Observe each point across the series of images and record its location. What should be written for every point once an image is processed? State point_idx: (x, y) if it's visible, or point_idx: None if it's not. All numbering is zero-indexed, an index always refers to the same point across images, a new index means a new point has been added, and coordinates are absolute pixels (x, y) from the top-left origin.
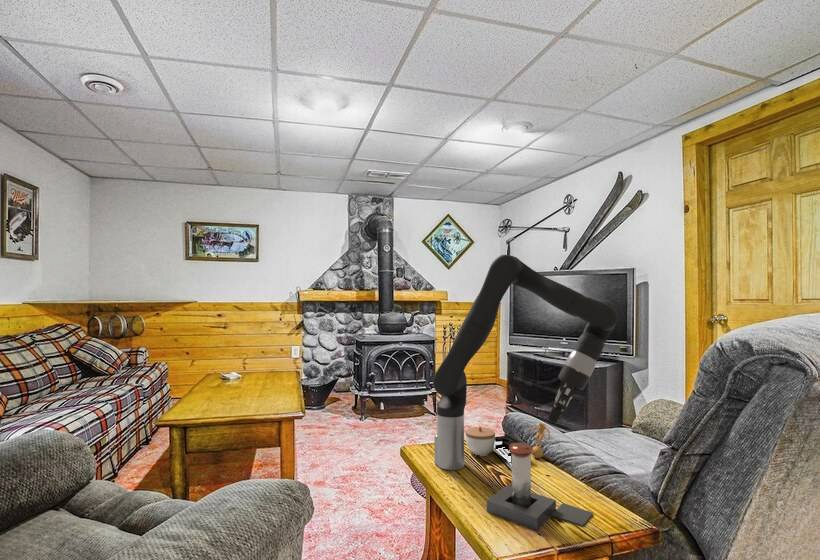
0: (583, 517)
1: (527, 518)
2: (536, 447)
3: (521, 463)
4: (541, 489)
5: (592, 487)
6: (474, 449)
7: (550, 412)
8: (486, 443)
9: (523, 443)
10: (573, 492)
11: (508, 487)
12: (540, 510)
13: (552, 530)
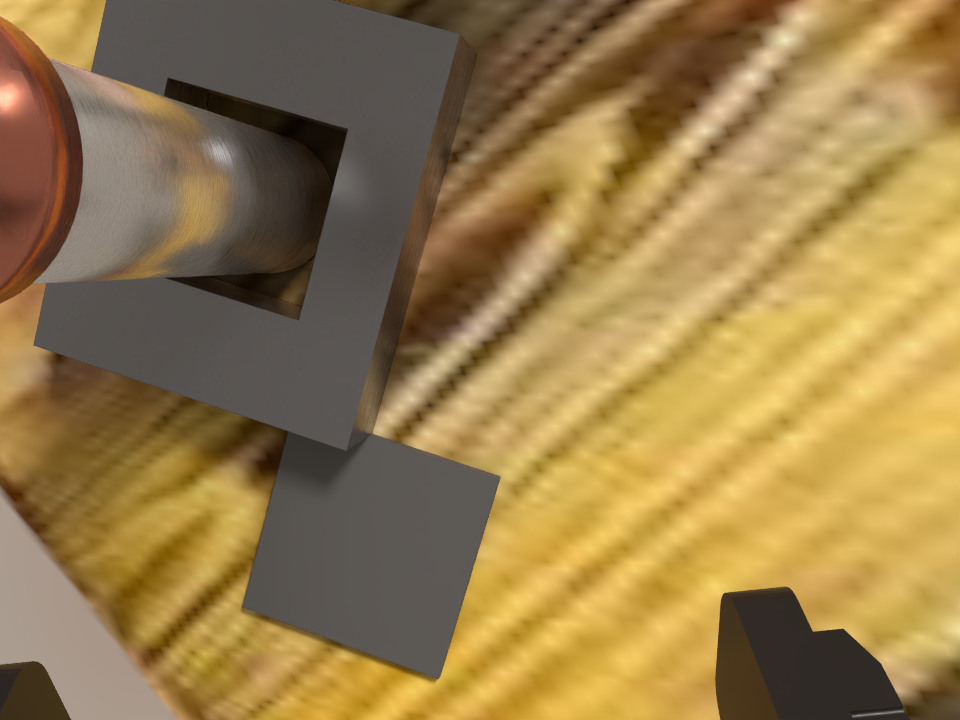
0: (343, 615)
1: None
2: None
3: None
4: (702, 297)
5: (917, 701)
6: None
7: (763, 684)
8: None
9: (24, 164)
10: (749, 550)
11: (407, 51)
12: (145, 356)
13: (129, 427)
